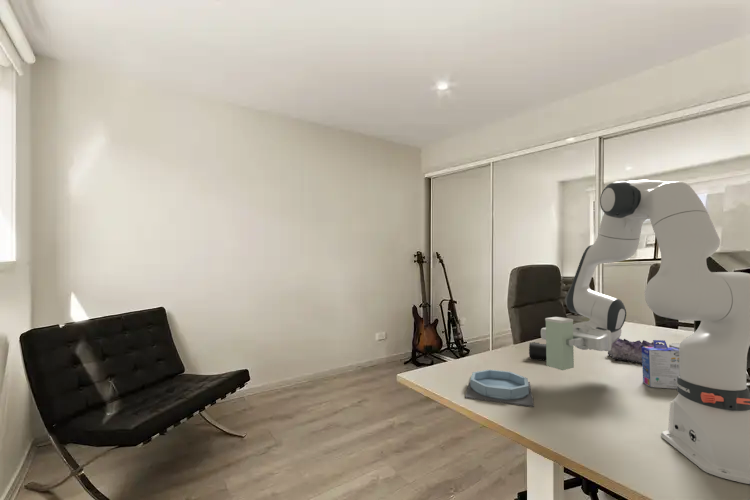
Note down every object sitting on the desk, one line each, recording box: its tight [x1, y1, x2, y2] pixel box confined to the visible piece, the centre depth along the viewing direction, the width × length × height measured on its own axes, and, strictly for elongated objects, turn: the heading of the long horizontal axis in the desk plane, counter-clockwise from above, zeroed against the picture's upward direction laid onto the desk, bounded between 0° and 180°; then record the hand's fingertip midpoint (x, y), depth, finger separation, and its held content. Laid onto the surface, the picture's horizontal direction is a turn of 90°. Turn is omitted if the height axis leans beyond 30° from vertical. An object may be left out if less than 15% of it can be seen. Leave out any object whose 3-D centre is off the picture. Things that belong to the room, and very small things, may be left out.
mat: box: [464, 378, 535, 408], centre depth 114 cm, size 20×19×1 cm
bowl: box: [470, 369, 529, 400], centre depth 114 cm, size 17×17×3 cm
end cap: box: [528, 341, 547, 362], centre depth 145 cm, size 10×7×7 cm
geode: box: [607, 338, 664, 365], centre depth 144 cm, size 20×12×10 cm, turn 55°
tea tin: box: [544, 316, 575, 371], centre depth 113 cm, size 6×6×15 cm
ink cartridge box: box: [641, 339, 679, 390], centre depth 117 cm, size 10×6×14 cm, turn 78°
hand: (557, 340), depth 112 cm, fingers closed on tea tin, 5 cm apart
